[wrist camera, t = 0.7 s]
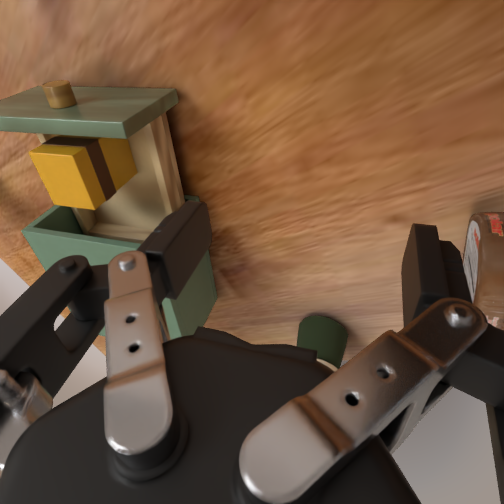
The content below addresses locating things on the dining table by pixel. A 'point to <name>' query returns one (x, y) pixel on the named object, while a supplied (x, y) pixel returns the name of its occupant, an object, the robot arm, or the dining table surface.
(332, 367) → the character mug
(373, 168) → the dining table surface
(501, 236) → the tin
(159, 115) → the drawer
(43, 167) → the snack box
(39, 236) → the cabinet
